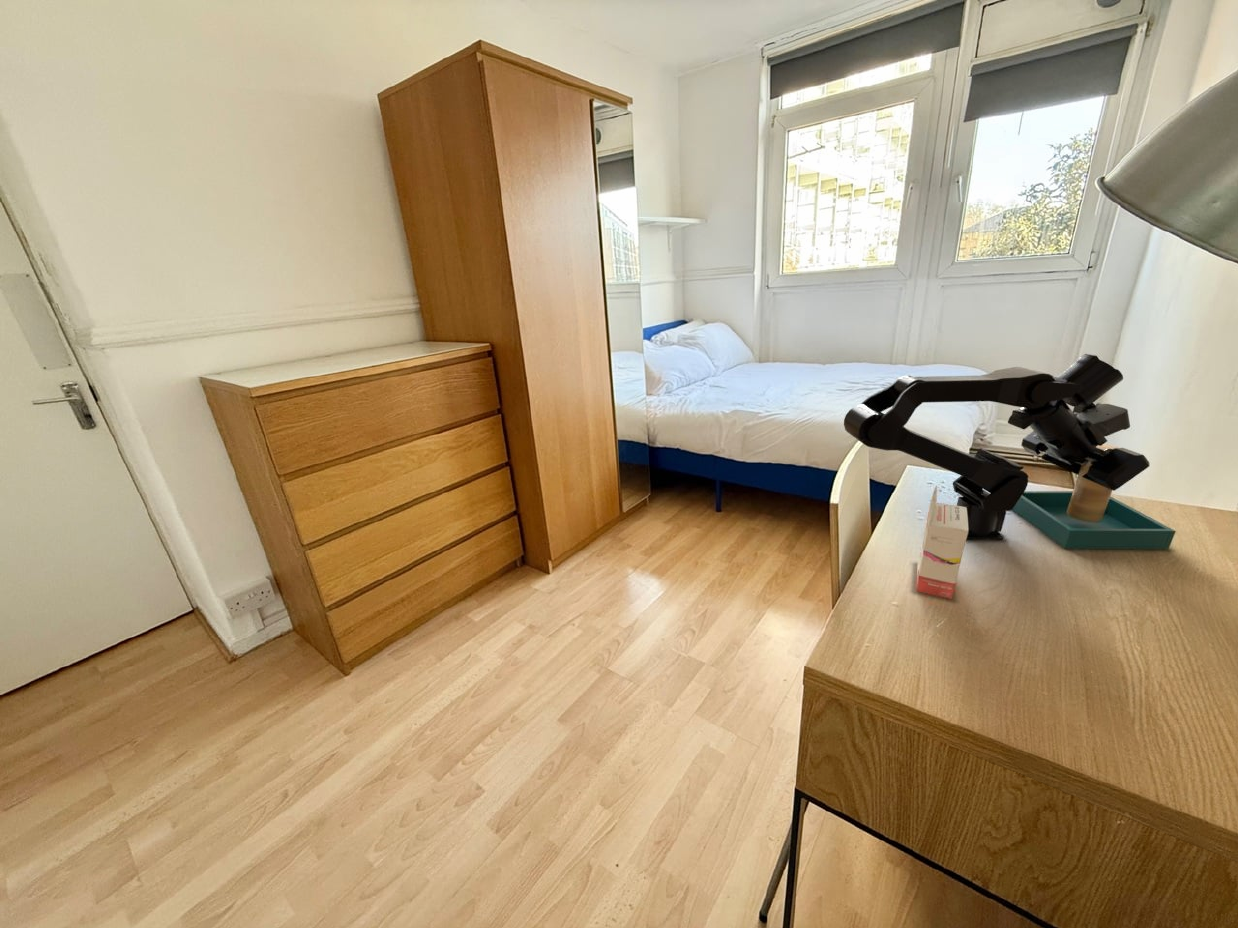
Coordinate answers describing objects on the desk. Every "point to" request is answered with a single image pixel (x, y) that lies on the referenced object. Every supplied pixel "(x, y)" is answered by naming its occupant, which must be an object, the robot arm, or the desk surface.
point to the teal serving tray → (1092, 524)
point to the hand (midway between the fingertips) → (1102, 482)
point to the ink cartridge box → (942, 548)
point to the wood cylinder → (1089, 496)
